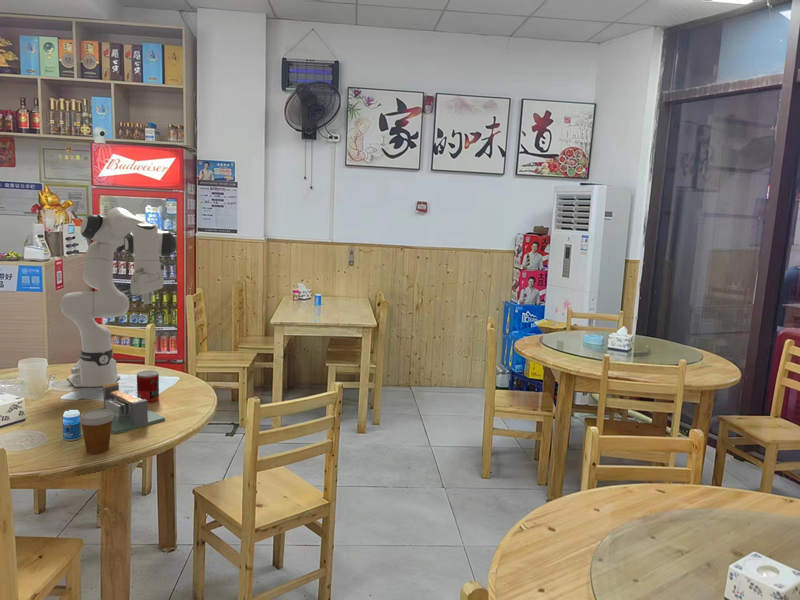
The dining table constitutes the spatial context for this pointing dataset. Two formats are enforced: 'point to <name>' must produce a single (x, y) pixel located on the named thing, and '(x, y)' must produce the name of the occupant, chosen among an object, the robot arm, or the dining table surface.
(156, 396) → the canned food
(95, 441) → the disposable coffee cup
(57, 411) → the dining table surface
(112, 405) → the heatsink
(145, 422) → the board
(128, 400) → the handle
